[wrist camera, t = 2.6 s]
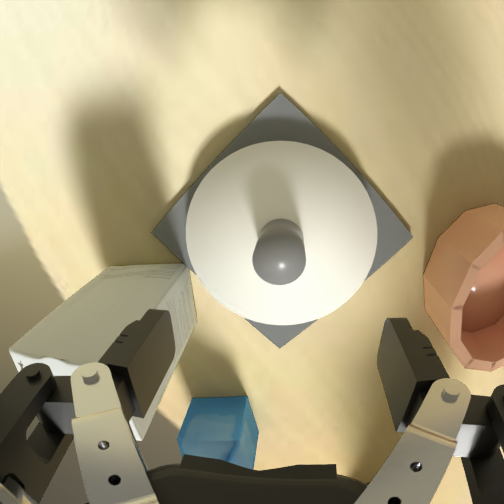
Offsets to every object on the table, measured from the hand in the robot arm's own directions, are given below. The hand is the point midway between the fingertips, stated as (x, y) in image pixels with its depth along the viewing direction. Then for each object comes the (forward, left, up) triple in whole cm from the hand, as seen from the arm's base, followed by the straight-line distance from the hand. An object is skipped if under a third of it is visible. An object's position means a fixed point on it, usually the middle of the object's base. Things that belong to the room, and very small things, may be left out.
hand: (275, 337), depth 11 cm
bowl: (+11, -16, -15) cm, 24 cm away
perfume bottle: (-19, -11, -15) cm, 27 cm away
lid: (0, 0, -14) cm, 14 cm away
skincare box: (-12, +4, -15) cm, 20 cm away
